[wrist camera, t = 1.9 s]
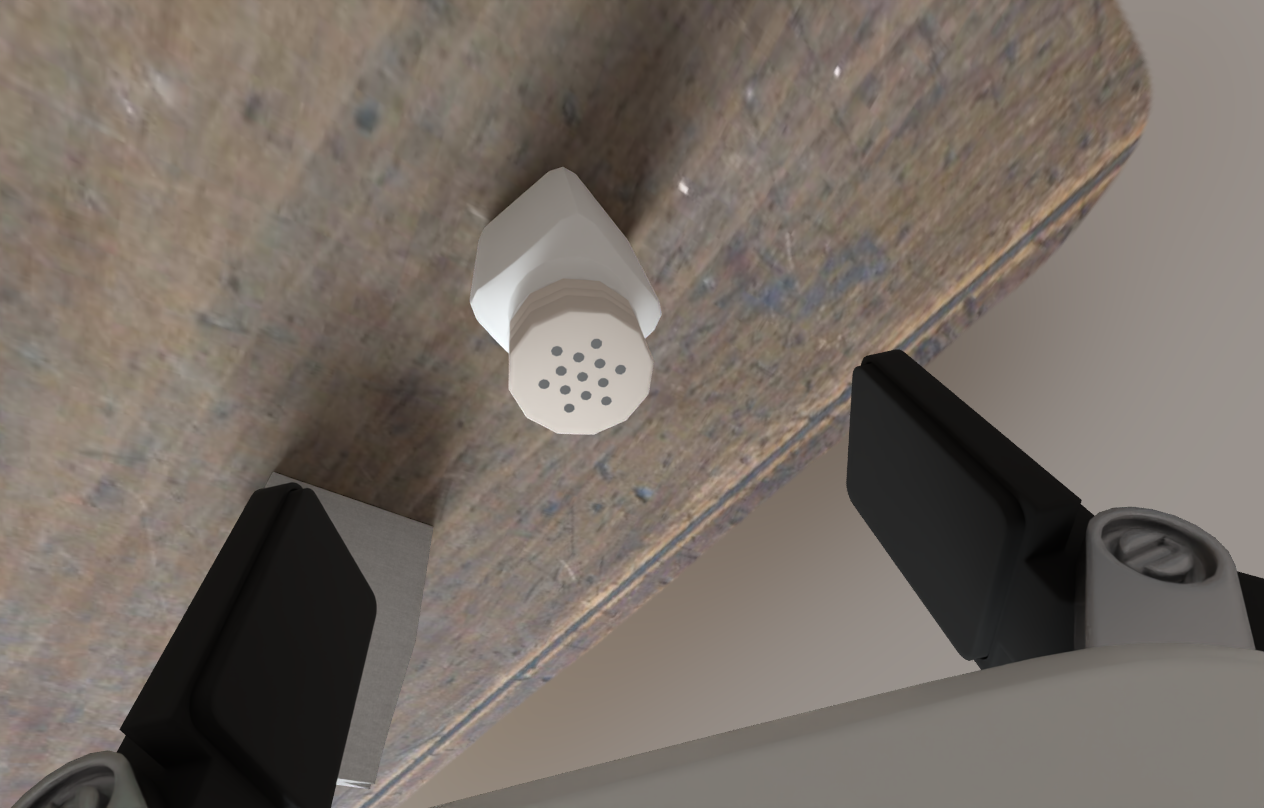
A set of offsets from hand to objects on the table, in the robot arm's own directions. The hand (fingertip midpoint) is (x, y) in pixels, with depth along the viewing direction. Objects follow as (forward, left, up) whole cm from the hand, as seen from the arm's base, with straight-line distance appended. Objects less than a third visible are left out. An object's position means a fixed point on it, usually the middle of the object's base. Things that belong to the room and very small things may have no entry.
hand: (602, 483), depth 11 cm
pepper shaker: (0, 0, -13) cm, 13 cm away
